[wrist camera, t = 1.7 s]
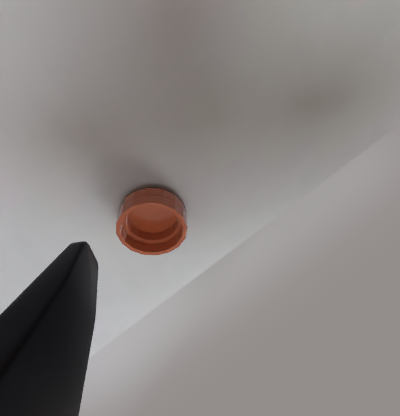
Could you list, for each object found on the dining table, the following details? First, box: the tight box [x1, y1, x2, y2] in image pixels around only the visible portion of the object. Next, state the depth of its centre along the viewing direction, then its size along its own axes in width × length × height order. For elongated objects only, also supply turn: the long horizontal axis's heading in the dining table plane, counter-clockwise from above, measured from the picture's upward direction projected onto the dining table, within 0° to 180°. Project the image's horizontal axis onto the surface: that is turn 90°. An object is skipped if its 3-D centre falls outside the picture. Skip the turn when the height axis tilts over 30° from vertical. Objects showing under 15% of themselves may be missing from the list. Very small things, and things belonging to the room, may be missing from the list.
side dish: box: [116, 188, 187, 255], centre depth 22 cm, size 5×5×2 cm
